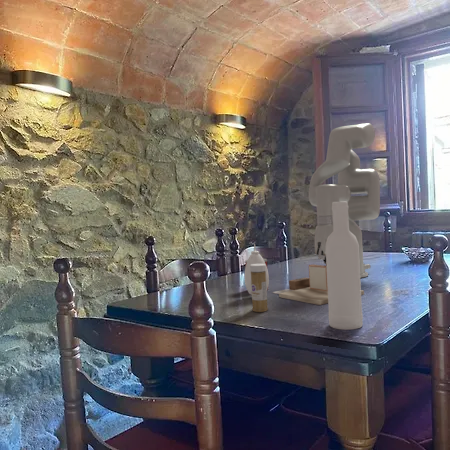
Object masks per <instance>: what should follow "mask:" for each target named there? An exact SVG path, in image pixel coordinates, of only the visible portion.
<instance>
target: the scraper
mask: <svg viewBox="0 0 450 450" xmlns="http://www.w3.org/2000/svg"><path fill="white" fill-rule="evenodd" d="M288 286H289V288H285V289H281V290H275V291H272V293H271V294H276V295H279V293H284V292H288V291H293V290H298V289H303V288H308V287H310V282H309V277H301V278H296V279H290V280H288Z"/></svg>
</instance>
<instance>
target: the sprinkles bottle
mask: <svg viewBox="0 0 450 450" xmlns="http://www.w3.org/2000/svg"><path fill="white" fill-rule="evenodd" d="M250 271H251V285H252V295H251V299H252V300H251V301H252V311H253V312H255V313H263V312H267V311H268V310H269V307H268V293H267V292H268V290H267V287H266V265H265V264H251V265H250Z"/></svg>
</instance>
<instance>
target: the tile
mask: <svg viewBox="0 0 450 450" xmlns="http://www.w3.org/2000/svg"><path fill="white" fill-rule="evenodd" d="M308 278H309V282H310V289H315V290H322V291H328V287H327V268H326V264H325V265H323V264H314V263H313V264H308Z"/></svg>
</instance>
